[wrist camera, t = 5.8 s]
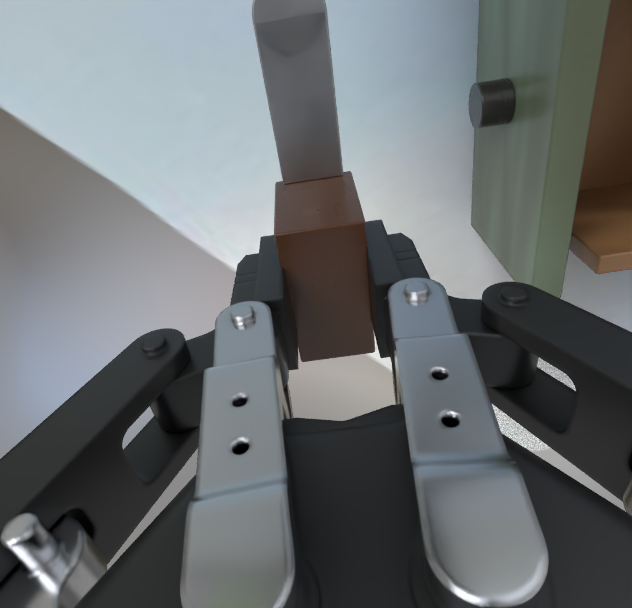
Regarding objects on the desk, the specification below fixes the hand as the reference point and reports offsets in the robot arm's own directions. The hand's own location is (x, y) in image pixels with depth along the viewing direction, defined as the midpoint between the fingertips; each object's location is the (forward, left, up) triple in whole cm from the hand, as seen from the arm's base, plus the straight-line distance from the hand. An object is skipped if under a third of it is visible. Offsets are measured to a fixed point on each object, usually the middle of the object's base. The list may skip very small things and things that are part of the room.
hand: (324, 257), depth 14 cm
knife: (-2, +2, -1) cm, 3 cm away
